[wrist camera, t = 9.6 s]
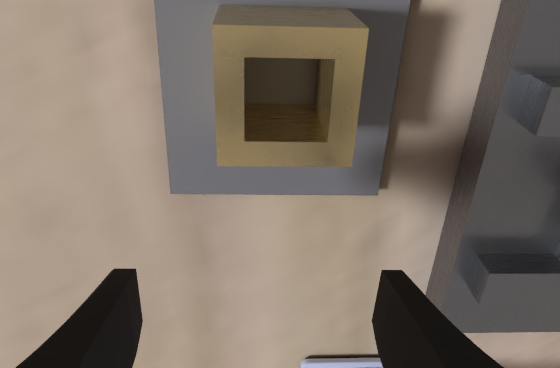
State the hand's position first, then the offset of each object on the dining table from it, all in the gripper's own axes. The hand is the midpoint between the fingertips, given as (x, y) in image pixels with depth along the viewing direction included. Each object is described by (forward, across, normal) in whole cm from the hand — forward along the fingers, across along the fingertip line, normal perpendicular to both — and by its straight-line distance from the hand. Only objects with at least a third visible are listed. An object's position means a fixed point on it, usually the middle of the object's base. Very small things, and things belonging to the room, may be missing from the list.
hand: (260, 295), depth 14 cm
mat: (+10, -1, -4) cm, 10 cm away
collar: (+9, -1, -4) cm, 10 cm away
